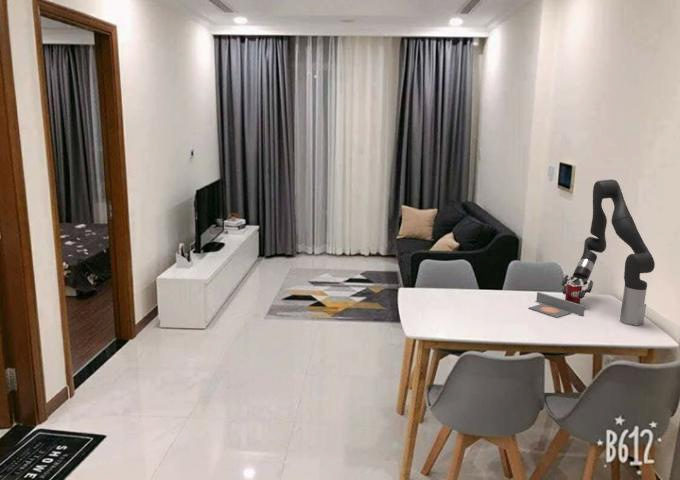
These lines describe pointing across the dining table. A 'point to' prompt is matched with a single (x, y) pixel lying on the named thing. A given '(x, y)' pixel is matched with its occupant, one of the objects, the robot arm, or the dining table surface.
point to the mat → (550, 310)
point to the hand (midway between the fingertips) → (572, 295)
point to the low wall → (560, 303)
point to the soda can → (573, 292)
